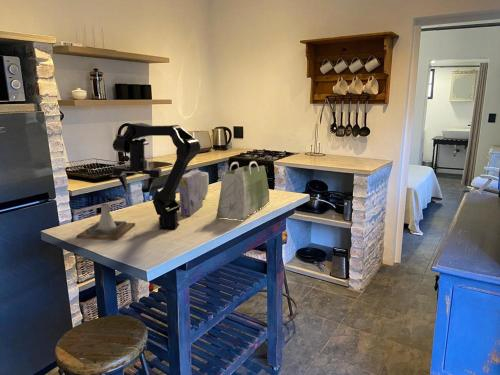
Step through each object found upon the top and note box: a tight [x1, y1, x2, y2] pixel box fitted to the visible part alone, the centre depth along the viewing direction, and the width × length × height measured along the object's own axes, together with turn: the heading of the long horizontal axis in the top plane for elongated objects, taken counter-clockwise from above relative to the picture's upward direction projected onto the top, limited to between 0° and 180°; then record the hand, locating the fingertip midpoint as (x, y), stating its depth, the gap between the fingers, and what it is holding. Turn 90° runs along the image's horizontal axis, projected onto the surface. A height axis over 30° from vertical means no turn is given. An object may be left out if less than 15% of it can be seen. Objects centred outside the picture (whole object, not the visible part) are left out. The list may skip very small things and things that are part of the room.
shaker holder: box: [76, 220, 136, 240], centre depth 146 cm, size 16×16×2 cm
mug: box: [201, 171, 210, 200], centre depth 195 cm, size 15×11×13 cm
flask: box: [98, 203, 116, 230], centre depth 145 cm, size 7×7×10 cm
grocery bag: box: [215, 160, 270, 221], centre depth 170 cm, size 32×14×23 cm, turn 156°
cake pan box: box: [178, 170, 204, 217], centre depth 171 cm, size 19×5×18 cm, turn 168°
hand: (137, 191), depth 154 cm, fingers open, 9 cm apart
